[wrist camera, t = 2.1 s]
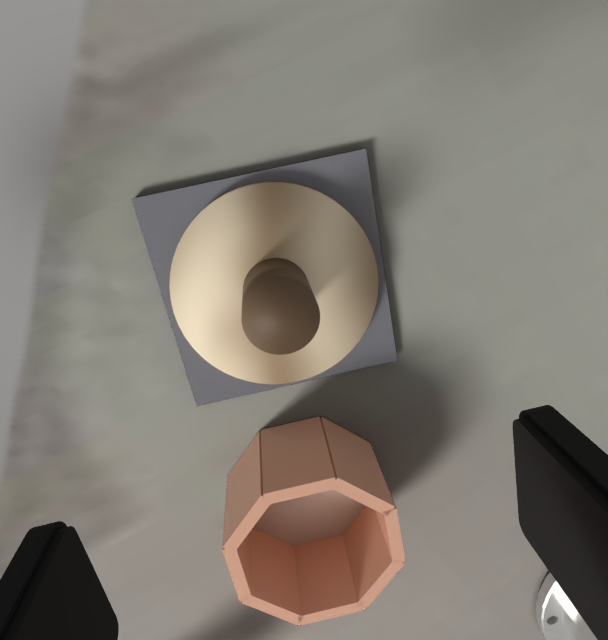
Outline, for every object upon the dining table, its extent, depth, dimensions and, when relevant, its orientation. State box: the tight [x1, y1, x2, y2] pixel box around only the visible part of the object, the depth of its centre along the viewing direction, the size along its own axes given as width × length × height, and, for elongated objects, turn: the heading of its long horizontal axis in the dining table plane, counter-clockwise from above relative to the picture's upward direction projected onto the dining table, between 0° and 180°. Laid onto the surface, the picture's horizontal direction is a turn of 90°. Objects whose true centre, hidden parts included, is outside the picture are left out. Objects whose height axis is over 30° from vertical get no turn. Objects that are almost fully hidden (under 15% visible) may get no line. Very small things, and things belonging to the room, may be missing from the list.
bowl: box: [222, 416, 405, 626], centre depth 29 cm, size 9×9×6 cm
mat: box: [132, 149, 397, 406], centre depth 27 cm, size 12×12×1 cm
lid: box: [169, 182, 378, 384], centre depth 25 cm, size 11×11×5 cm
